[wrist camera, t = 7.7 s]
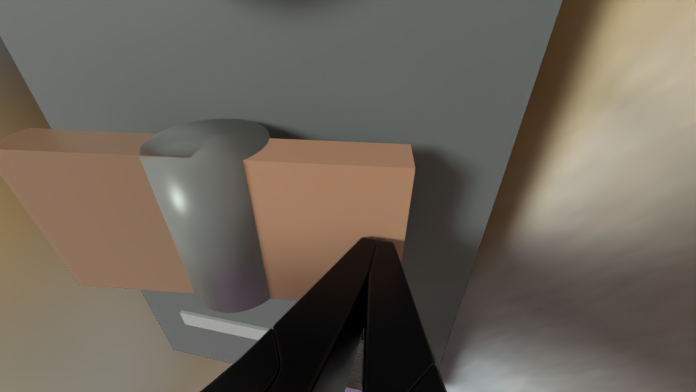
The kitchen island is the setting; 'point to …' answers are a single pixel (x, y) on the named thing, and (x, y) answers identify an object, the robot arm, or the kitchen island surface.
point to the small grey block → (356, 372)
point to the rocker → (207, 206)
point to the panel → (305, 107)
